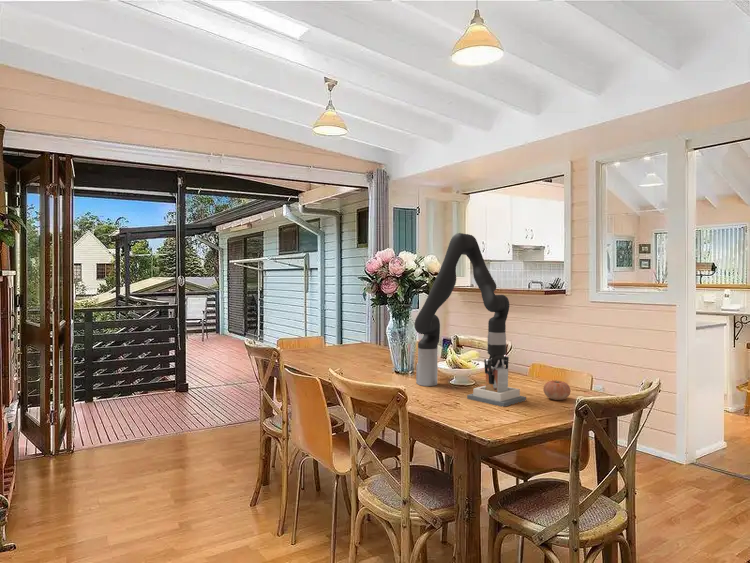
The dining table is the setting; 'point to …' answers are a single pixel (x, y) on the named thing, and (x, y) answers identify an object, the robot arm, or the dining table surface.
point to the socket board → (496, 396)
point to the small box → (498, 380)
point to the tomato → (556, 390)
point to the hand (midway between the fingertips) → (496, 382)
